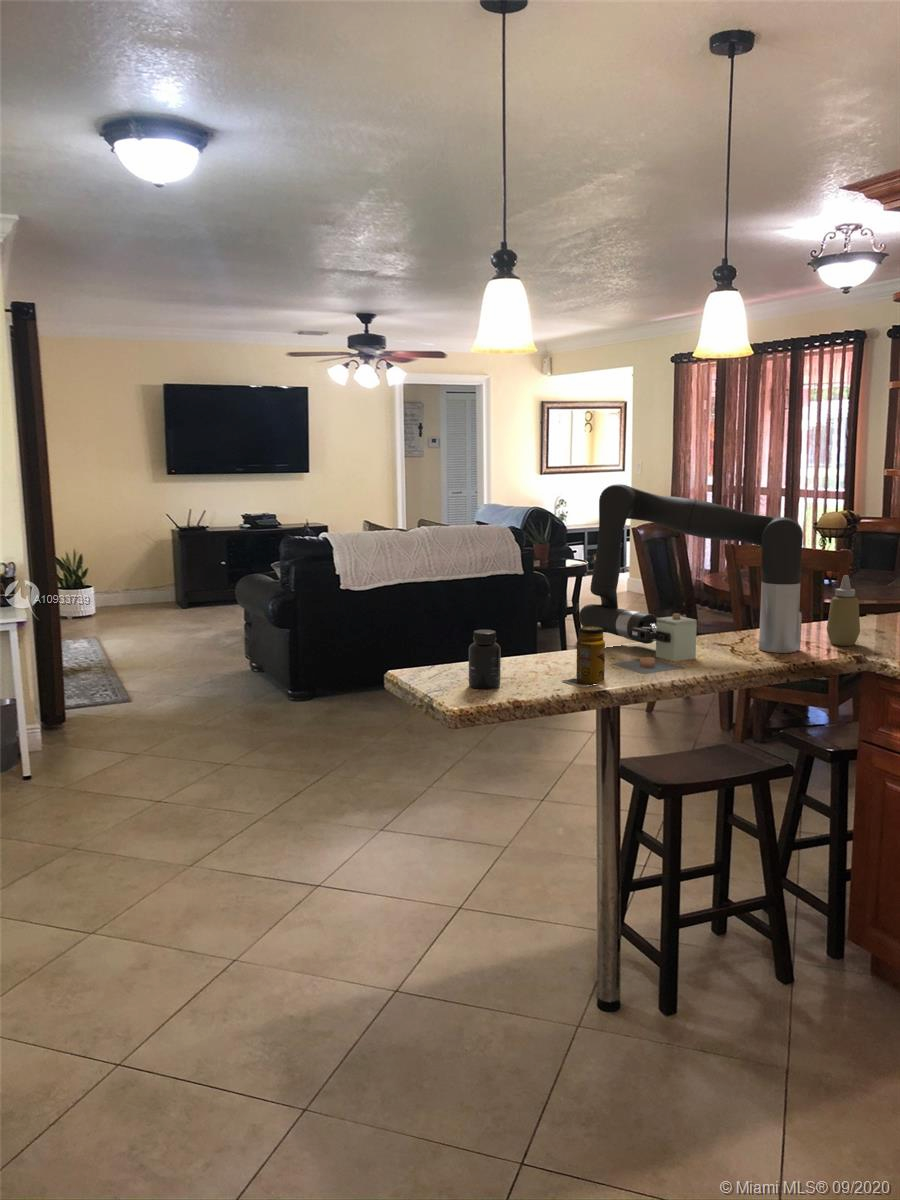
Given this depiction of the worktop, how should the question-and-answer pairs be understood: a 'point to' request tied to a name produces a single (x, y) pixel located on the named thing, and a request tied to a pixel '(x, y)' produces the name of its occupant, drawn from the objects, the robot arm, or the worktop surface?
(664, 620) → the lidded square canister
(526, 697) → the worktop surface
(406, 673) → the worktop surface
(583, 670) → the condiment
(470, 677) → the supplement bottle
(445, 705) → the worktop surface
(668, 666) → the mat
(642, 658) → the brown small block
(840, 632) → the squeeze bottle
